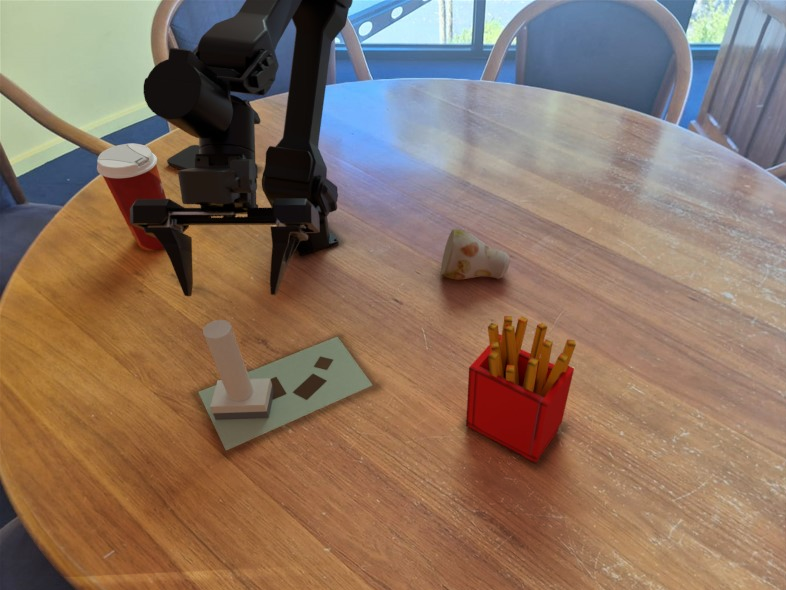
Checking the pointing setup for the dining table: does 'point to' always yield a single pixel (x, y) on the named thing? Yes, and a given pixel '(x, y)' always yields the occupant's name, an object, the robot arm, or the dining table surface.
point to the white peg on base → (235, 378)
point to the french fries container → (519, 389)
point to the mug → (471, 258)
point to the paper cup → (132, 183)
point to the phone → (186, 158)
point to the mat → (295, 389)
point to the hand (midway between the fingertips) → (231, 295)
